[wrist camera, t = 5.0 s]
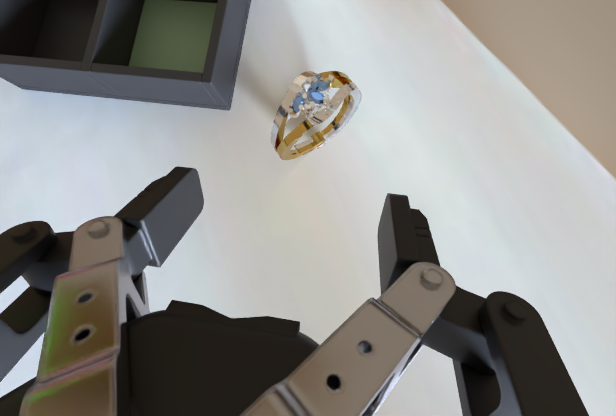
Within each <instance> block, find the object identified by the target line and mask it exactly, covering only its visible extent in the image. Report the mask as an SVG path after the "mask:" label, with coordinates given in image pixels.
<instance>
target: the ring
mask: <svg viewBox="0 0 616 416" xmlns="http://www.w3.org/2000/svg"><path fill="white" fill-rule="evenodd" d="M312 83H313V84H312ZM332 88H340V89H339V90H338V91H337V93H336V94H335V95H334V96H333V98H332V99H331V100H330V102H329V95H328V93H330V92H331V91H332ZM304 90H305V91H304ZM326 93H327V94H326ZM324 95H325V96H324ZM361 97H362V95H361V92H360V90H359V89H358V87H357V86H356V85H355V83H353V82H352V81H351V79H350V78H349V77H348V76H347V75H346V74H344V73H342V72H338V71H329V72H323V73H320V74H317V73H315V72H312V71H307V72H304V73H302V74H300V75H299V76H298V77H297V78H296V79H295V80H294V81H293V83H292V84H291V86H290V88H289V89H288V91H287V93H286V95H285V97H284V99H283V101H282V103H281V105H280V107H279V109H278V111H277V114H276V116H275V119H274V122H273V126H272V131H271V143H272V145H273V147H274V149H275V150H276V152H277V153H278V155H279V156H280V158H281V159H282V160H290V159H294V158H297V157H300V156H302V155H304V154H306V153H308V152H310V151H312V150H314V149H316V148H317V149H318V148H320V147H322V146H323V145H324V144H325V142H327V141H328V140H329V139H331V138H332V137H333V136H334V135H336V134H337V133H338V132H339V131H340V130H341V129H342V128H343V127H344V126H345V125H346V124H347V123H348V121H349V120H350V119H351V118H352V116H353V115H354V114H355V112H356V110H357V109H358V107H359V105H360V102H361ZM343 100H344V102H343V105H342V108H341V110H340V112H339V113H338V115H337V116H336V118H335V119H334V120H333V121H332V122H331V123H330V124H329V125H328V126H327V127H326V128H325V129H324V130H322V131H321V132H317V133H315V134H314V135H312V136H311V138H310V139H309V140H307V141H305V142H302V143H300V144H297V145H294V144H295V143H296V142H297V141H298V140H299V138H300V137H301V136H302V135H303V134H304V133H305V132H306V131H307V130H308V129H310V128H311V127H313V126H314V125H317V124H320V123H322V122H323V121H325V120H326V119H327V118H328V117H330V116H331V115H332V113H333V112H334V111H335V110H336V109H337V108H338V106H339V105H340V104H341V102H342V101H343ZM317 107H319V108H323V107H324V109H323V110H321V111H320V112H319V113H318V114H316V115H314V113H317V112H318V108H317ZM300 113H302V114H303V115H304V116H305V118H306V120H305V121H304V122H303V123H301V124H300V125H299V126H298V127H296V128H295V129H294V130H293V131H292V132H291V133H290V134H289V135H287V136H286V137H285V139H284V140H283V136H284V132H285V129H286V126H287V123H288V120H289V118H290V116H292V117H293V118H296V117H298V116H299V114H300ZM293 145H294V146H293Z"/></svg>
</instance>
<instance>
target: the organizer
mask: <svg viewBox="0 0 616 416" xmlns="http://www.w3.org/2000/svg"><path fill="white" fill-rule="evenodd" d="M250 2H251V0H0V77H1V78H3V79H5V80H7V81H9V82H10V83H12V84H14V85H16V86H18V87H20V88H22V89H27V90H37V91H47V92H57V93H66V94H76V95H86V96H96V97H105V98H115V99H125V100H135V101H144V102H154V103H164V104H174V105H183V106H193V107H203V108H213V109H222V110H230V107H231V102H232V97H233V91H234V86H235V81H236V76H237V70H238V65H239V60H240V55H241V49H242V44H243V39H244V34H245V28H246V23H247V18H248V13H249V7H250Z"/></svg>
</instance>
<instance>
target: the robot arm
mask: <svg viewBox="0 0 616 416" xmlns="http://www.w3.org/2000/svg"><path fill="white" fill-rule="evenodd" d="M203 204H204V199H203V194H202V189H201V184H200V179H199V175H198V172H197V170H196V169H194V168H186V167H175V168H174V169H173V170H172V171H171V172H170V173H169V174H167V175H166V176H164V177H162V178H160V179H158V180H156V181H153V182H152V183H151V184H150V185H148V186H147V187H146V188H145V189H144V191H142V192H141V193H139V194H138V196H137V197H135V198H134V199H133V200H132V201H130V202H129V203H128V204H127V205H126V206H125V207H124V208H123V209H121V210H120V211H119V212H118V213H117V214H116V215H115V216H113V217H112V216H105V217H99V218H95V219H92V220H90V221H87V222H85V223H84V224H82V225H81V226H79V227H78V228H77V229H76V231H72V232H60V233H54V231H53V230H52V228H51V227H50V225H49V224H48V223H47V222H43V221H32V222H26V223H23V224H19V225H17V226H14V227H12V228H10V229H8V230H6V231H5V232H3V233H2V234H0V293H1V292H3V291H4V290H5V289H6V288H7V287H8V286H9V285H11V284H12V283H13V282H14V281H15V280H16V279H17V278H18V277H20V276H21V275H22V277H23V278H24V279H25V280H26V281H27V283H28V284H29V285H30V287H28V288H27V289H26V290H25V291H24V292H23V293H22V294H21V295H20V296H19V297H18V298H17V299H16V300H15V301H14V302H13V303H11V304H10V305H9V306H8V307H7V308H6V309H5V310H4V311H3V312H2V313H1V314H0V382H1V381H2V379H3V378H4V377H5V376H6V375H7V374H8V373H9V371H10V370H11V369H12V368H13V367H14V366H15V365H16V364H17V362H18V361H19V360H20V359H21V358H22V357H23V356H24V354H25V353H26V352H27V351H28V350H29V349H30V348H31V346H32V345H33V344H34V343H35V342H36V341H37V340H38V338H39V337H40V336H41V335H42V334H43V333H44V332H45V334H44V339H43V345H42V350H41V356H40V361H39V367H38V372H37V376H36V377H35V378H33V379H31V380H30V381H28V382H26V383H24V384H23V385H21V386H19V387H18V388H16V389H14V390H13V391H11V392H9V393H8V394H6V395H4V396H3V397H1V398H0V416H374V414H375V413H376V412H377V410H378V409H379V407H380V406H381V405H382V403H383V402H384V400H385V399H386V397H387V396H388V394H389V393H390V391H391V390H392V388H393V387H394V385H395V384H396V382H397V381H398V379H399V378H400V377H401V375H402V374H403V373H404V371H405V370H406V368H407V367H408V366H409V364H410V363H411V362H412V360H413V359H414V358H415V356H416V355H417V353H418V352H419V351H420V349H421V348H422V347H423V345H426V346H428V347H430V348H432V349H434V350H436V351H438V352H440V353H442V354H444V355H446V356H448V357H450V358H452V359H453V365H454V370H455V375H456V381H457V386H458V392H459V397H460V402H461V408H462V413H463V416H589V415H588V413H587V411H586V408H585V406H584V404H583V402H582V400H581V398H580V396H579V394H578V392H577V390H576V388H575V386H574V384H573V382H572V380H571V378H570V376H569V374H568V371H567V369H566V367H565V365H564V363H563V361H562V359H561V357H560V355H559V353H558V351H557V349H556V347H555V345H554V343H553V341H552V339H551V336H550V334H549V332H548V330H547V328H546V326H545V324H544V322H543V320H542V318H541V316H540V315H539V313H538V312H537V311H536V309H535V308H534V307H533V306H532V305H530V304H529V303H528V302H527V301H525V300H524V299H522V298H520V297H518V296H516V295H514V294H511V293H508V292H502V291H497V292H493V293H491V294H490V295H489V296H488V297H487V298H483V297H481V296H478V295H476V294H473V293H471V292H468V291H466V290H463V289H461V288H460V287H458V286H456V284H455V281H454V279H453V278H452V276H451V275H450V274H449V273H448V272H447V271H446V270H445V269H443V268H442V267H440V263H439V260H438V256H437V253H436V249H435V246H434V242H433V239H432V238H431V237H432V235H431V232H430V230H429V225H428V221H427V218H426V217H425V216H424V215H423V214H422V213H421V212H420V210H417V209H410V205H409V201H408V197H407V196H406V195H398V194H390V193H388V194H387V196H386V199H385V203H384V207H383V211H382V215H381V218H380V222H379V227H378V251H379V268H380V284H381V296H380V297H379V298H378V299H377V300H375V299H374V298H370V299H368V300H367V301H366V302H365V303H364V304H363V305H362V306H361V307H359V308H358V309H357V310H356V311H355V312H354V313H353V314H352V315H351V316H350V317H349V318H348V319H347V320H346V321H345V322H344V323H343V324H342V325H341V326H340V327H339V328H338V329H337V330H336V331H335V332H333V333H332V334H331V335H330V336H329V337H328V338H327V339H326V340H325V341H324V342H323V343H322V344H321V345H319V344H317V343H316V342H315V341H314V340H313V339H311V338H309V337H308V336H306V335H304V334H302V333H300V332H299V330H300V322H298V321H292V320H287V319H281V318H275V317H269V316H264V317H250V318H229V317H227V316H224V315H222V314H220V313H218V312H216V311H214V310H212V309H210V308H207V307H205V306H203V305H199V304H193V303H187V302H181V301H175V300H172V301H171V302H170V304H169V306H168V307H167V309H166V310H162V311H157V312H152V313H150V310H149V302H148V294H147V285H146V277H145V273H144V271H143V270H144V268H145V267H146V266H147V265H149V266H155V267H161V265H162V264H163V263H164V261H165V260H166V259H167V257H168V256H169V255H170V253H171V252H172V251H173V249H174V248H175V246H176V245H177V244H178V242H179V241H180V240H181V238H182V237H183V236H184V234H185V233H186V232H187V230H188V229H189V228H190V226H191V225H192V224H193V222H194V221H195V220H196V218H197V217H198V216H199V214H200V213H201V211H202V209H203Z"/></svg>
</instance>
